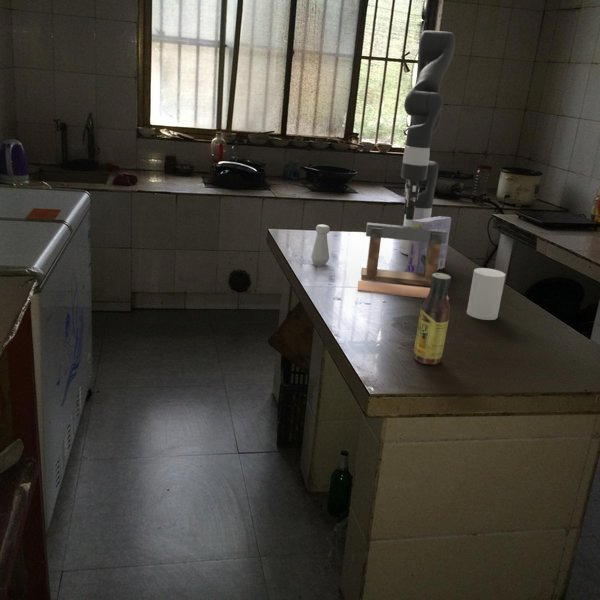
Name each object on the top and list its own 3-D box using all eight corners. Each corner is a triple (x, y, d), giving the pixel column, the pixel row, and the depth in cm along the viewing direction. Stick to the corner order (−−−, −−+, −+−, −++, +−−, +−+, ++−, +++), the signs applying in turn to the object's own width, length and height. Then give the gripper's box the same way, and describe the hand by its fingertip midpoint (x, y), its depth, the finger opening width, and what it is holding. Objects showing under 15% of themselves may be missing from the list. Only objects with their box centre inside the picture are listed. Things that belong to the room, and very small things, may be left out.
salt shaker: (329, 262, 214) (332, 224, 210) (328, 267, 209) (331, 228, 205) (311, 261, 215) (314, 222, 210) (309, 265, 209) (313, 226, 205)
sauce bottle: (409, 354, 146) (422, 269, 140) (436, 355, 147) (450, 271, 141) (417, 366, 140) (430, 278, 134) (445, 367, 141) (459, 280, 134)
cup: (498, 312, 179) (506, 271, 175) (496, 322, 172) (504, 278, 168) (468, 307, 181) (475, 266, 178) (465, 316, 174) (472, 273, 170)
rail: (444, 241, 199) (445, 230, 198) (445, 243, 196) (447, 232, 195) (365, 233, 200) (367, 222, 199) (366, 236, 197) (367, 224, 196)
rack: (436, 279, 205) (444, 230, 200) (439, 287, 198) (447, 236, 193) (361, 272, 207) (366, 222, 202) (361, 279, 199) (367, 228, 194)
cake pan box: (434, 264, 223) (441, 213, 218) (447, 268, 220) (455, 216, 214) (403, 273, 209) (411, 219, 204) (417, 277, 206) (425, 222, 200)
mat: (444, 290, 195) (444, 289, 194) (448, 300, 186) (448, 298, 186) (358, 282, 196) (358, 280, 196) (358, 291, 188) (358, 289, 187)
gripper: (430, 166, 184) (422, 222, 189) (425, 161, 197) (418, 213, 203) (404, 164, 184) (397, 220, 189) (401, 158, 198) (394, 211, 203)
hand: (408, 216), depth 196 cm, fingers open, 8 cm apart
